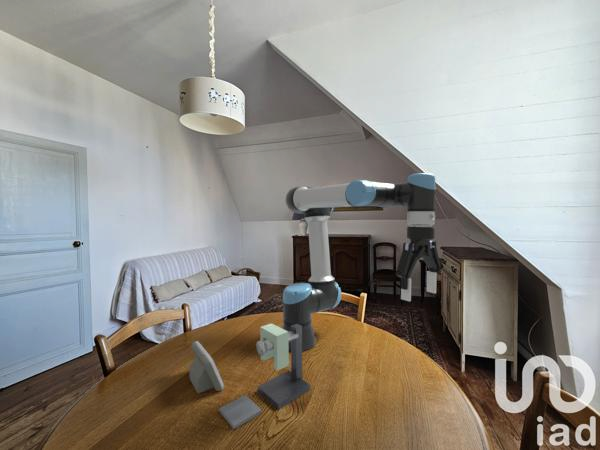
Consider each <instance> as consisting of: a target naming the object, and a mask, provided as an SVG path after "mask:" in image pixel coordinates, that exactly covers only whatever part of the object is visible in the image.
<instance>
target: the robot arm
mask: <svg viewBox="0 0 600 450" xmlns="http://www.w3.org/2000/svg"><path fill="white" fill-rule="evenodd" d="M436 191H437V188H436V176H435V175H434V173H429V172H420V173H419V172H418V173H413V174H410V175H408V177H407V181H406V182H398V183H397V182H395V183H388V182H379V181H372V180H367V179H355V180H352V181H351V182H347V183H341V184H333V185H325V186H318V187H312V186H295V187H292V188H291V189H289V190H288V191H287V193H286V196H285V205H286V207H287V208H288V209H289V210H290V211H291V212H293V213H295V214H299V215H301V214H302V215H303V216H304V217H303V218H304V220H305V221H306V222H307V227H308V241H309V242H308V243H309V257H310V258H309V259H310V272H311V273H310V274H311V276H310V277H309V279H308V282H295V283H291V284H288V285H287V286H286V287H285V288H284V290H283V294H282V319H283V321H282V327H281V328H282V329H284V330H286V331H288V332H289V331H291V326H292V325H295V324H299V325H301V326H302V352H303V351H308V350H310V349H312V348H314V347H315V346H316V343H317V336H316V334H315V330H314V327H313V324H312V323H313V321H312V320H313V319H312V318H313V317H312V315H313V314H317V313H321V312H325V311H330V310H332V309H334V308H336V307H337V306H338V305H339V304H340V302H341V300H342V290H341V287H339V284H338V283H337V282H336V280H335V279H336V278H335V277H334V276H333V275H332V271H331V260H330V259H331V257H330V256H331V255H330V244H329V243H330V242H329V231H328V221H329V219H330V218H331V213H332V212H333V211H334V209H335V208H343V207H345V208H347V207H378V208H395V207H396V208H397V207H398V208H399V207H406V208H407V210H406V211H407V215H406V216H407V218H406V225H408V226H407V227H406V238H407V239H409V240H410V243H409V242H403V244H402V252H401V255H400V257H399V260H398V265H397V268H396V271H395V276H397V277H398V278H400V300H402V301H406V302H411V301H412V278H411V275H412V273H413V270H414V268H415V267H416V263H417V262H418V261H419V260H421V258H422V259H423V261H424V263H425V265H426V267H427V269H428V271H426V292H428V293H432V294H437V275H438V274H437V273H440V272H441V269H442V265H441V261H440V260H441V259H440V257H439V253H438V249H437V241H436V240H434V239H435V231H436V230H435V227H434V225H435V224H436V223H435V219H436V212H435V211H436V209H435V208H436ZM289 351H290V352H291V342H289Z"/></svg>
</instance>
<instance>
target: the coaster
mask: <svg viewBox="0 0 600 450" xmlns="http://www.w3.org/2000/svg"><path fill="white" fill-rule="evenodd" d="M218 412H219V414H221V416H222V417H223V418H224V419H225V421H226V422H227V424H229V425H230V427H231V428H232V429H233V430H235V429H237V428H239V427H240V426H242V425H244V424H245V423H247V422H249V421H251V420H253V419H254V418H255V417H257V416H259V415H261V414H262V409H261V408H260V407H259V406H258V405H257V404H256V403H255V402H254V401H253V400H251V398H250V397H248V395H247V394H245V395H243V396H241V397H239V398H237V399H235V400H233V401H232V402H229V403H227V404H226V405H223V406H222V407H220V408H218Z"/></svg>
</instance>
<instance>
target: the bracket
mask: <svg viewBox="0 0 600 450" xmlns="http://www.w3.org/2000/svg"><path fill="white" fill-rule="evenodd" d="M259 329H260V330H259V331H260V332H259V333H260V340H262V341H266V340H269V341H271V342H272V343H274V349H272V350H269V351H267V352H266V354H265V355H263V356H260V360H261V361H262V362H265V361H267V360H269V359H271V358H273V369H274V370H275V371H277V372H278V371H280V370H282V369H284V368H286V367H288V366H289V364H290V362H289V355H290V354H289V351H290V350H289V342H288V331H286V330H284V329H282V327H280V326H278V325H275V324H274V323H268V324H266V325H265V324H264V325H262V326H260V328H259ZM260 340H259V341H260Z"/></svg>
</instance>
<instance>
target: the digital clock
mask: <svg viewBox="0 0 600 450" xmlns="http://www.w3.org/2000/svg"><path fill="white" fill-rule="evenodd" d="M190 347H191V349H192V351H193V353H194V357H195V358H194V360H193V361H192V363H190V365H189V370H188V371H189V380H190V382H191V384H192V386H193V388H194V389H195V391H196V393H197V394H201V393H204V392H206V391H209V390H211V389H214V390H215V391H216V392H220V391H223V390H224V387H225V384H224V381H223V380H222V378H221V375H220V372H219V370H218V368H217V366H216V362H215V361H214V359H213V357H212V356H211V355H210V354H209V353H208V351H207V350H206V349H205V348H204V346H203V345H202V344H201V343H200V341H196V340H195V341H193V342H192V344H191V346H190Z"/></svg>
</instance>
